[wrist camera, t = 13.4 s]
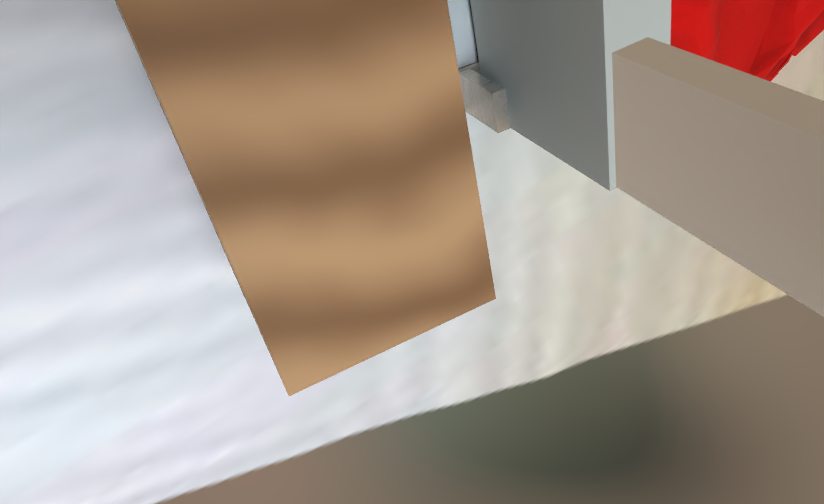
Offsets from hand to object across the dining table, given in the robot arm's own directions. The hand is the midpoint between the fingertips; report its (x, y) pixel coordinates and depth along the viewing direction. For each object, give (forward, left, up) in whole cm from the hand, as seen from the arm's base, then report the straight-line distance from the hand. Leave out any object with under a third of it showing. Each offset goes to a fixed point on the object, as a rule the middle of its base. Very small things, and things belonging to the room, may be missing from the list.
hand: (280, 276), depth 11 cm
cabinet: (+7, +5, -27) cm, 28 cm away
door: (+7, +19, -27) cm, 33 cm away
